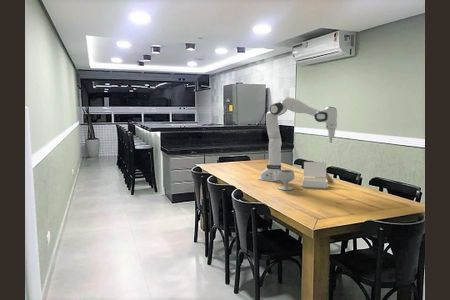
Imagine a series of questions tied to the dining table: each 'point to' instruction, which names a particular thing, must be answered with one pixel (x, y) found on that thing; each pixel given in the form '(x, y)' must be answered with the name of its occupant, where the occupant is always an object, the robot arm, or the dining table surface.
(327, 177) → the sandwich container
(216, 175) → the dining table surface
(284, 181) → the chalice
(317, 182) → the mailer box
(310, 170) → the lid
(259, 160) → the dining table surface
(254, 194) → the dining table surface
